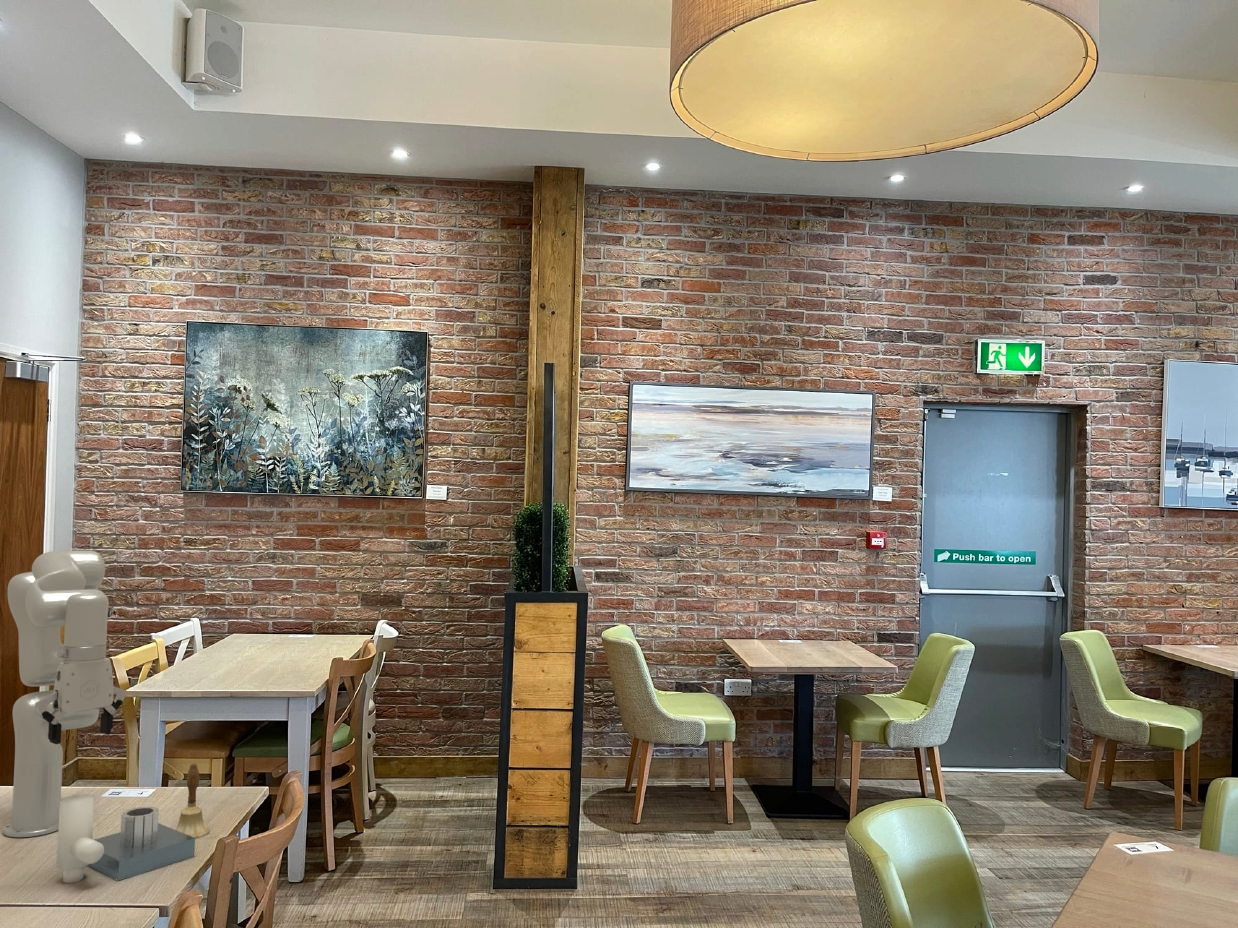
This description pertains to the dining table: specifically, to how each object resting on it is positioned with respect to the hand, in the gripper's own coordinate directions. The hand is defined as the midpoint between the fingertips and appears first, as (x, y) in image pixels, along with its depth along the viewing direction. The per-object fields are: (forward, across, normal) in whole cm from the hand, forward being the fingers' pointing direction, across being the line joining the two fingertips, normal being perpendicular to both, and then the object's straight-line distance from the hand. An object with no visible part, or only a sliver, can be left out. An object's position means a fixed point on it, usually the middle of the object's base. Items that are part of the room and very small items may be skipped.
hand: (80, 737), depth 182 cm
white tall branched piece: (+28, 0, -2) cm, 28 cm away
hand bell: (+28, +28, +6) cm, 40 cm away
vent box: (+28, +13, 0) cm, 31 cm away
